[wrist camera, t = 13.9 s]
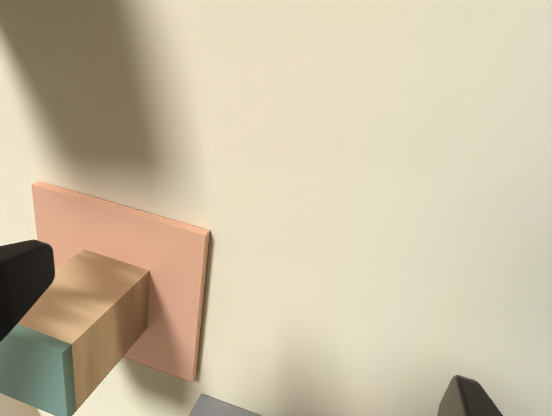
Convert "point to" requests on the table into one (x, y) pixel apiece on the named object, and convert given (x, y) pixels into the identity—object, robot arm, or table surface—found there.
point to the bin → (217, 408)
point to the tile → (142, 253)
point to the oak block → (75, 333)
